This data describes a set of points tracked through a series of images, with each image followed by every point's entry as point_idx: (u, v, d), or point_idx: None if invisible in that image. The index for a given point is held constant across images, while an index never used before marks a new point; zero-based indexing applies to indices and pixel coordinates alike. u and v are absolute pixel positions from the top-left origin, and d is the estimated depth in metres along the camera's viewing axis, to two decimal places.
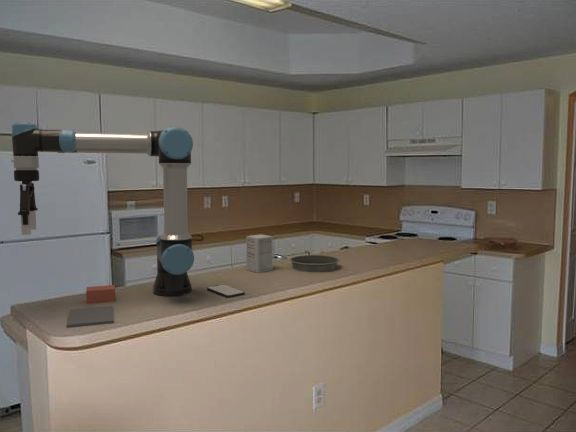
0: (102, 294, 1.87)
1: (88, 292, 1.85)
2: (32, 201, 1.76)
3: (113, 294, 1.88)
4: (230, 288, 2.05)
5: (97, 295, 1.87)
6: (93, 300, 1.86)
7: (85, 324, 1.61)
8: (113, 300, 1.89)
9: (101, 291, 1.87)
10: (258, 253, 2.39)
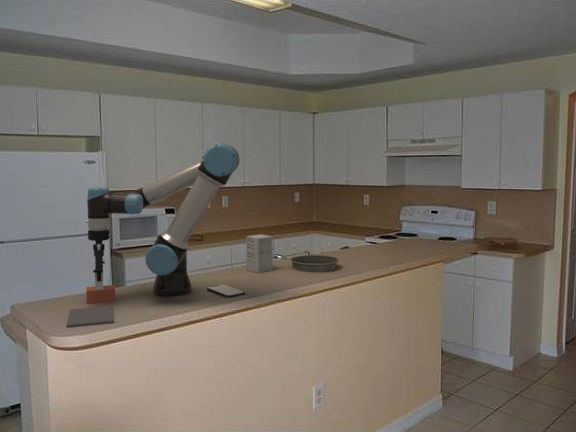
0: (102, 294, 1.87)
1: (88, 292, 1.85)
2: (101, 256, 1.93)
3: (113, 294, 1.89)
4: (230, 288, 2.05)
5: (97, 295, 1.87)
6: (93, 300, 1.86)
7: (85, 324, 1.61)
8: (113, 300, 1.89)
9: (101, 291, 1.87)
10: (258, 253, 2.39)
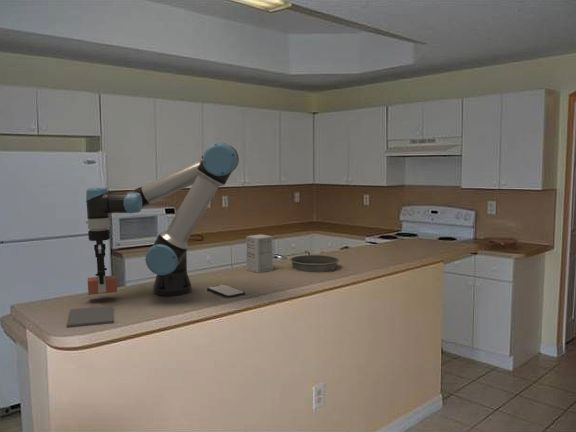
0: None
1: (89, 282, 1.85)
2: None
3: (115, 284, 1.88)
4: (230, 288, 2.05)
5: None
6: (95, 291, 1.86)
7: (85, 324, 1.61)
8: (115, 290, 1.88)
9: None
10: (258, 253, 2.39)
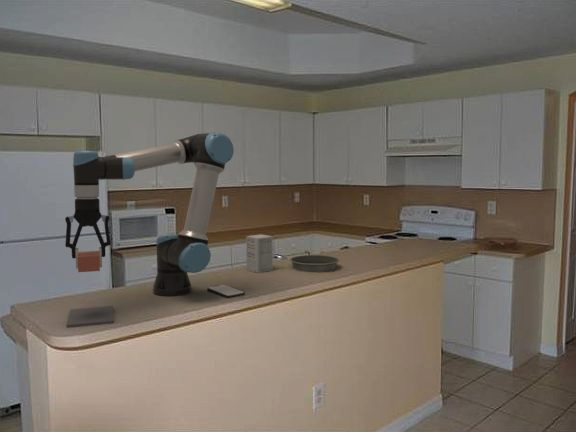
0: None
1: (78, 253, 1.70)
2: (96, 234, 1.67)
3: None
4: (230, 288, 2.05)
5: None
6: None
7: (85, 324, 1.61)
8: (78, 269, 1.63)
9: None
10: (258, 253, 2.39)
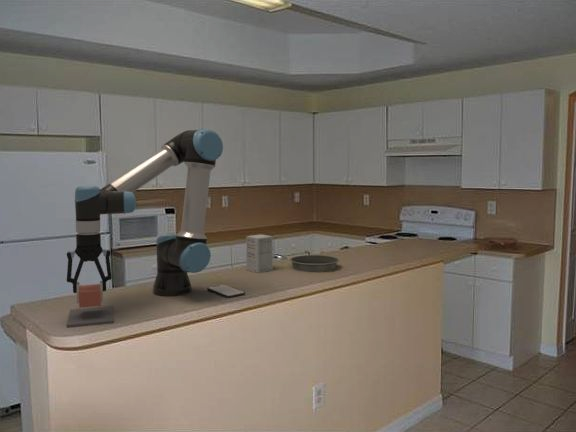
0: None
1: None
2: None
3: (79, 298, 1.63)
4: (230, 288, 2.05)
5: None
6: None
7: (85, 324, 1.61)
8: (79, 305, 1.64)
9: (79, 290, 1.67)
10: (258, 253, 2.39)
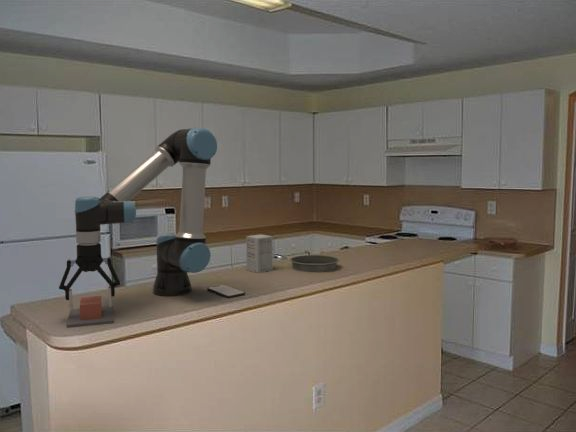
0: None
1: None
2: (103, 277, 1.69)
3: (80, 310, 1.64)
4: (230, 288, 2.05)
5: None
6: None
7: (85, 324, 1.61)
8: (80, 317, 1.64)
9: (80, 302, 1.68)
10: (258, 253, 2.39)
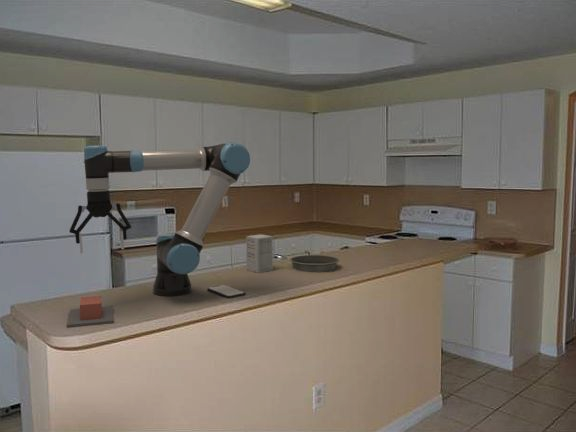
0: None
1: None
2: (114, 221, 1.78)
3: (80, 310, 1.64)
4: (230, 288, 2.05)
5: None
6: None
7: (85, 324, 1.61)
8: (80, 317, 1.64)
9: (80, 302, 1.68)
10: (258, 253, 2.39)
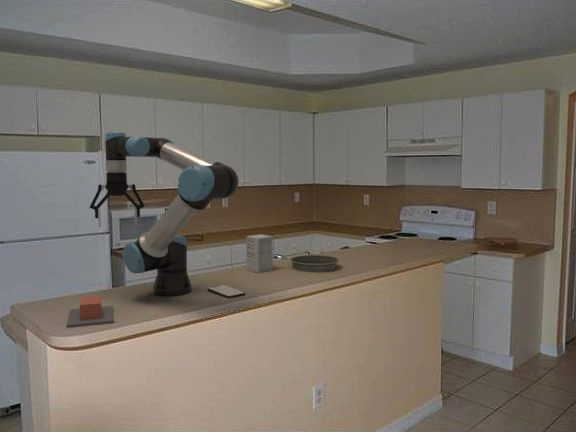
0: None
1: None
2: (129, 200, 1.99)
3: (80, 310, 1.64)
4: (231, 289, 2.04)
5: None
6: None
7: (85, 324, 1.61)
8: (80, 317, 1.64)
9: (80, 302, 1.68)
10: (258, 253, 2.39)
